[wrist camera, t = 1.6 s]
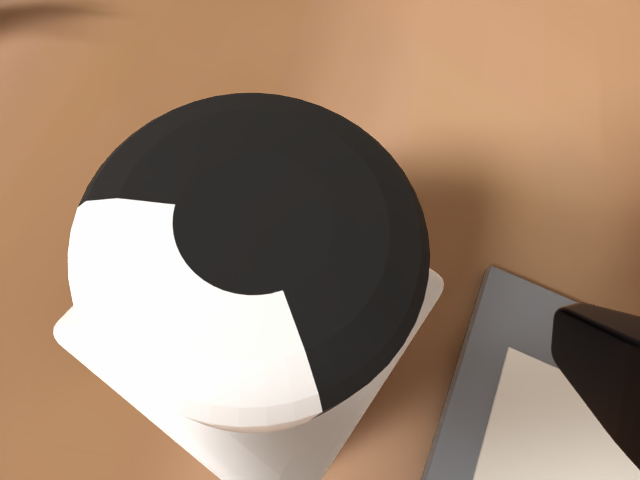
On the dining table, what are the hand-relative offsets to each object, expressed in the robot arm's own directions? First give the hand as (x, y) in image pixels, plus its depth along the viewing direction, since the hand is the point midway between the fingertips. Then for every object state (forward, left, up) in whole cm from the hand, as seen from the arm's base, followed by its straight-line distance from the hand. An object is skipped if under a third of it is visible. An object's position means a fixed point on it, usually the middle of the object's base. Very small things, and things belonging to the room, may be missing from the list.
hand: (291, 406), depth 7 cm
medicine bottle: (+2, -2, -11) cm, 12 cm away
